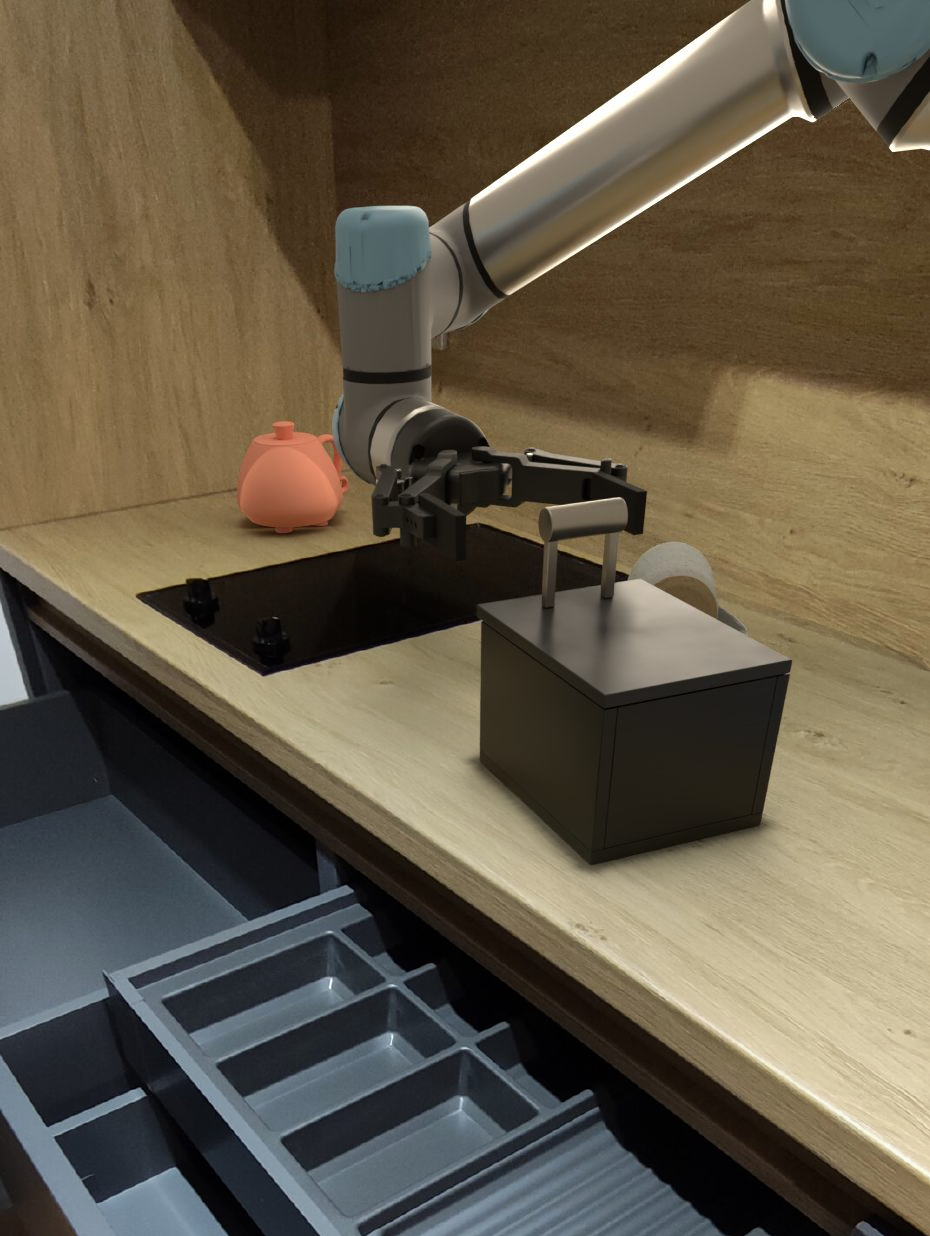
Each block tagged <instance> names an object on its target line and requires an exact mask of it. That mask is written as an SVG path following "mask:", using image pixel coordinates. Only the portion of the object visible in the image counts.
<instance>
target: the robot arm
mask: <svg viewBox="0 0 930 1236" xmlns="http://www.w3.org/2000/svg"><path fill="white" fill-rule="evenodd" d="M791 50H792V52H791ZM793 59H794V60H793ZM794 61H795V64H794ZM801 85H802V86H801ZM802 88H803V90H802ZM803 91H804V94H803ZM849 98H850V99H851V100H850V101H851V102H852V103H853V104H854V106H855V107H856V108H857V109H858V110H859V112H860V113H861V114H862V116H863V117H864V118H865V119H866V121H867V122H868V123H869V124H870V126H871V127H872V128H873V129H874V130H875V132H876V133H877V134H878V135H879V137H880V138H881V139H882V141H884V143H885V144H886V145H887V147H888V148H889V149H890V151H891V152H892V153H893V152H902V151H911V150H920V149H923V150H927V151H930V0H749V1H748V2H746V3H745V4H743V5H741V7H739V8H737V9H736V10H735V11H733V12H732V13H731V14H729V15H728V16H726V17H725V18H724V19H722V20H721V21H719V22H718V23H716V24H715V25H713V26H712V27H711V28H710V29H708V30H707V31H705V32H704V33H703V34H701V35H700V36H698V37H697V38H695V39H694V40H693V41H691V42H690V43H689V44H687V45H686V46H684V47H682V48H681V49H680V50H679V51H677V52H676V53H674V54H673V55H671V56H670V57H669V58H667V59H666V60H664V61H663V62H662V63H660V64H659V65H657V66H656V67H654V68H653V69H651V71H648V73H647V74H645V75H643V76H642V77H641V78H639V79H638V80H636V81H635V82H633V83H632V84H630V85H629V86H628V87H626V88H625V89H624V90H622V91H620V92H619V93H618V94H616V95H615V96H613V97H612V98H611V99H609V100H608V101H606V102H605V103H604V104H603V105H601V106H599V107H598V108H596V109H595V110H594V111H593V112H591V113H590V114H588V115H587V116H586V117H584V118H583V119H582V120H580V121H578V122H577V123H575V124H574V125H573V126H571V127H570V128H569V129H567V130H565V132H563V133H561V134H560V135H559V136H557V137H556V138H555V139H553V140H552V141H550V142H549V143H548V144H546V145H544V146H543V147H542V148H540V149H539V150H538V151H536V152H534V153H533V154H531V156H529V157H528V158H526V159H525V160H524V161H522V162H520V163H519V164H518V165H516V166H515V167H514V168H512V169H511V170H509V171H508V172H507V173H505V174H504V175H502V176H501V177H500V178H498V179H497V180H495V181H493V182H492V183H491V184H490V185H488V186H487V187H485V188H484V189H482V190H481V191H479V193H477V194H475V195H474V196H473V197H471V198H470V200H469V201H466V202H465V203H463V204H461V205H460V206H458V207H457V208H456V209H454V210H453V211H451V212H450V213H449V214H447V215H446V216H445V217H443V218H441V219H440V220H438V221H437V222H436V223H435V224H433V225H431V226H429V225H430V224H429V219H428V216H427V213H426V212H425V211H424V210H423V209H422V208H421V207H419V206H415V205H414V206H413V205H370V206H361V207H357V206H356V207H350V208H346V209H344V210H342V211H341V212H340V213H339V215H338V216H337V218H336V221H335V226H334V227H335V228H334V230H335V262H334V269H333V272H334V277H335V282H336V295H337V307H338V321H339V335H340V349H341V350H340V351H341V364H342V365H341V366H342V394H341V396H340V397H339V399H338V401H337V402H336V403H337V404H336V406H335V408H334V410H333V411H334V412H333V415H332V420H331V435H332V436H333V441H334V444H335V447H336V450H337V452H338V454H339V455H340V457H341V459H342V460H343V463H344V464H345V465H346V466H347V467H348V468H349V469H350V470H351V471H352V473H354V475H355V476H356V477H358V478H359V479H360V480H362V481H364V482H365V483H367V484H368V485H373V486H374V488H373V491H372V494H371V499H370V500H371V518H372V534H373V536H374V537H378V538H384V537H386V536H390V534H391V533H392V529H399V542H400V543H399V544H400V546H401V547H404V548H413V547H416V546H417V545H418V542H417V541H418V540H417V539H420V540H423V541H425V542H426V543H428V544H429V545H431V546H432V547H434V548H435V549H437V550H438V551H440V552H441V553H442V554H444V555H445V556H446V557H448V558H450V559H452V560H453V561H455V562H459V561H461V562H462V561H466V560H467V516H469V515H470V514H472V513H473V512H474V511H475V510H476V509H477V508H482V509H486V508H488V507H490V506H496V507H497V506H498V507H505V508H518V507H519V506H521V505H523V504H524V503H527V502H528V503H538V504H545V505H553V506H559V505H567V504H574V503H581V502H589V501H596V500H604V499H611V498H619V497H620V498H622V499H623V500H624V501H625V503H626V506H627V511H628V520H627V524H626V527H625V529H624V530H623V531H624V532H625V533H628V534H630V535H632V536H639V535H643V534H644V529H645V528H644V527H645V518H646V507H647V499H648V490H646V489H644V488H641V487H639V486H636V485H635V484H632V483H630V482H627V480H628V469H629V466H628V465H627V464H624V463H621V462H620V463H614V462H613V459H612V458H611V457H605V458H603V459H601V460H596V459H589V458H583V457H577V456H570V455H564V454H558V453H551V452H548V451H545V450H542V449H539V448H536V447H527V448H525V449H523V453H517V452H506V451H498V450H497V449H496V448H494V447H492V446H491V445H490V443H489V441H488V439H487V437H486V436H485V434H484V431H482V429H481V428H480V427H479V425H477V424H476V423H475V422H474V421H472V420H471V419H469V418H467V417H466V416H463V415H460V414H458V413H456V412H453V411H451V410H449V409H448V408H446V407H444V406H441V405H438V404H436V403H434V402H433V401H432V395H433V394H432V372H433V371H432V365H433V364H432V339H434V338H437V337H439V336H441V335H444V334H446V333H450V332H458V331H460V330H464V329H466V328H467V327H468V326H469V327H470V325H473V324H474V323H476V322H478V321H479V320H480V319H481V318H483V316H484V315H485V314H486V313H488V311H489V310H490V309H491V308H493V307H494V306H496V305H497V304H499V303H501V302H502V301H504V300H506V298H508V297H509V296H511V295H512V294H513V293H516V292H517V291H519V290H520V289H522V288H523V287H525V286H527V285H528V284H530V283H531V282H533V281H534V280H536V279H537V278H539V277H541V276H543V275H544V274H545V273H547V272H549V271H550V270H552V269H554V268H555V267H557V266H558V265H560V264H561V263H563V262H565V261H566V260H568V259H569V258H570V257H572V256H574V255H575V254H577V253H579V252H580V251H582V250H584V249H585V248H587V247H589V246H590V245H591V244H593V243H595V242H596V241H598V240H599V239H601V238H602V237H604V236H605V235H607V234H609V233H610V232H612V231H613V230H615V229H617V228H618V227H620V226H622V225H623V224H625V223H626V222H628V221H629V220H631V219H633V218H634V217H636V216H637V215H639V214H640V213H642V212H643V211H646V210H647V209H648V208H650V207H651V206H653V205H655V204H656V203H658V202H660V201H661V200H663V199H665V197H668V196H669V195H671V194H672V193H674V192H675V191H677V190H679V189H680V188H682V187H683V186H685V185H686V184H688V183H689V182H691V181H693V180H695V179H696V178H697V177H699V176H701V175H702V174H704V173H706V172H707V171H708V170H711V169H712V168H714V167H715V166H716V165H718V164H720V163H721V162H723V161H724V160H726V159H728V158H729V157H731V156H732V155H734V154H735V153H737V152H738V151H740V150H742V149H744V148H746V146H748V145H750V144H752V143H753V142H755V141H756V140H757V139H760V138H761V137H762V136H764V135H766V134H767V133H769V132H770V131H772V130H773V129H775V128H777V127H778V126H780V125H782V124H783V123H785V122H786V121H788V120H790V119H791V118H793V117H794V118H795V117H799V118H802V119H803V120H805V121H808V122H810V123H814V122H816V121H817V120H819V119H821V118H823V117H824V116H826V115H827V114H829V113H830V112H832V111H833V110H835V109H836V108H838V107H840V106H841V105H840V104H841V103H842V102H844V101H845V100H847V99H849ZM839 105H840V106H839ZM808 106H809V107H808ZM837 106H838V107H837ZM835 107H836V108H835ZM834 108H835V109H834ZM831 110H832V111H831ZM811 112H812V114H811ZM828 112H829V113H828ZM814 117H815V118H814ZM510 486H511V495H509V494H505V493H506V492H507V490H508V489H509V488H510Z"/></svg>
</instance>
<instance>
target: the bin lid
mask: <svg viewBox="0 0 930 1236" xmlns="http://www.w3.org/2000/svg"><path fill="white" fill-rule="evenodd" d="M627 520H628V511H627V506H626V503H625V501H624V500H623V499H622V498H620V497H619V498H611V499H604V500H596V501H589V502H581V503H574V504H567V505H552V506H544V507H543V508H541V509H540V511H539V514H538V521H537V523H538V524H537V525H538V526H537V527H538V534H539V536H540V538H541V540H542V542H543V561H542V584H541V594H536V595H535V594H534V595H530V596H523V597H517V598H511V599H504V600H499V601H498V600H497V601H492V602H485V603H478V604H476V617H477V618H478V619H480V620H481V621H484V622H485V623H486V624H488V625H489V626H491V627H492V628H493V629H495V630H496V631H498V632H499V633H500V634H502V635H503V636H504V637H506V638H507V639H509V640H510V641H511V642H513V643H514V644H516V645H517V646H518V647H520V648H521V649H522V650H524V651H525V652H527V653H528V654H529V655H531V656H532V657H533V658H535V659H536V660H538V661H539V662H540V663H542V664H543V665H545V666H546V667H547V668H549V669H550V670H551V671H553V672H554V673H556V674H557V675H558V676H560V677H561V678H563V679H564V680H565V681H567V682H568V683H569V684H571V685H572V686H574V687H575V688H576V689H578V690H579V691H581V692H582V693H583V694H585V695H586V696H587V697H589V698H590V699H592V700H593V701H594V702H596V703H597V704H599V705H600V706H601V707H603V708H611V707H616V706H621V705H626V704H631V703H636V702H642V701H647V700H652V699H657V698H662V697H667V696H672V695H678V694H683V693H688V692H693V691H698V690H703V689H708V688H714V687H719V686H724V685H729V684H734V683H739V682H744V681H750V680H755V679H760V678H765V677H770V676H775V675H781V674H786V673H789V674H790V673H791V672H792V671H791V670H792V665H793V659H791V658H790V657H788V656H786V655H784V654H782V653H780V652H778V651H776V650H775V649H773V648H771V647H769V646H767V645H765V644H763V643H762V642H760V641H757V640H756V639H754V638H752V637H750V636H749V637H748V636H747V635H745V634H743V633H741V632H739V631H737V630H735V629H733V628H732V627H730V626H728V625H726V624H724V623H722V622H720V621H719V620H717V619H715V618H713V617H711V616H709V615H707V614H705V613H704V612H702V611H700V610H698V609H696V608H694V607H692V606H690V605H689V604H687V603H685V602H683V601H681V600H679V599H677V598H675V597H674V596H672V595H670V594H668V593H666V592H664V591H662V590H661V589H659V588H657V587H655V586H653V585H651V584H649V583H647V582H646V581H644V580H642V579H636V580H629V581H627V580H624V581H623V580H622V581H617V582H616V572H617V562H618V549H619V539H620V533H621V532H623V531H624V529H625V527H626V524H627ZM603 535H604V541H603V542H604V543H603V554H602V555H603V556H602V567H601V579H600V580H601V581H600V584H599V585H592V586H586V587H579V588H573V589H567V590H561V591H556V587H557V586H556V585H557V566H558V546H559V542H561V541H568V540H575V539H580V538H581V539H582V538H589V537H595V536H603Z"/></svg>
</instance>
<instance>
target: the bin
mask: <svg viewBox="0 0 930 1236" xmlns="http://www.w3.org/2000/svg"><path fill="white" fill-rule="evenodd" d="M480 624H481V625H480V687H479V689H480V690H479V691H480V692H479V693H480V694H479V695H480V696H479V704H480V705H479V709H480V710H479V762H480V763H481V764H482V765H483V766H484V767H485V768H486V769H487V770H488V771H490V772H491V773H492V774H493V775H494V776H495V777H496V778H497V779H498V780H499V781H500V782H501V783H503V784H504V786H505V787H507V788H508V790H510V791H511V792H512V793H513V794H514V796H516V797H517V798H518V799H520V800H521V801H522V803H524V804H525V805H526V806H527V807H528V808H529V809H530V810H531V811H532V812H533V813H535V814H536V815H537V816H538V817H539V818H540V819H541V820H542V821H543V822H544V823H545V824H546V825H547V826H548V827H550V828H551V829H552V830H553V831H554V832H555V833H556V835H558V836H559V837H560V838H561V839H562V840H563V841H564V842H566V843H567V844H568V845H569V847H571V848H572V850H574V851H575V852H576V853H577V854H578V855H579V856H581V858H582V859H583V860H584V861H585V862H586V863H588V864H589V865H590V866H592V865H595V864H600V863H604V862H609V861H612V860H617V859H622V858H626V857H630V856H634V855H639V854H642V853H646V852H650V851H651V852H652V851H655V850H659V849H663V848H668V847H671V846H676V845H680V844H684V843H688V842H693V841H697V840H702V839H706V838H709V837H714V836H718V835H722V834H726V833H731V832H734V831H739V830H743V829H747V828H752V827H756V826H760V825H761V824H762V819H763V815H764V814H763V813H764V809H765V804H766V798H767V793H768V789H769V783H770V779H771V773H772V768H773V763H774V758H775V753H776V748H777V744H778V738H779V734H780V733H779V732H780V728H781V722H782V717H783V713H784V707H785V703H786V699H787V692H788V687H789V682H790V677H791V674H790V673H786V674H781V675H775V676H770V677H765V678H760V679H755V680H750V681H744V682H739V683H734V684H729V685H724V686H719V687H714V688H708V689H703V690H698V691H693V692H688V693H683V694H678V695H672V696H667V697H662V698H657V699H652V700H647V701H642V702H636V703H631V704H626V705H621V706H616V707H611V708H603V707H601V706H600V705H599V704H597V703H596V702H594V701H593V700H592V699H590V698H589V697H587V696H586V695H585V694H583V693H582V692H581V691H579V690H578V689H576V688H575V687H574V686H572V685H571V684H569V683H568V682H567V681H565V680H564V679H563V678H561V677H560V676H558V675H557V674H556V673H554V672H553V671H551V670H550V669H549V668H547V667H546V666H545V665H543V664H542V663H540V662H539V661H538V660H536V659H535V658H533V657H532V656H531V655H529V654H528V653H527V652H525V651H524V650H522V649H521V648H520V647H518V646H517V645H516V644H514V643H513V642H511V641H510V640H509V639H507V638H506V637H504V636H503V635H502V634H500V633H499V632H498V631H496V630H495V629H493V628H492V627H491V626H489V625H488V624H486V623H485V622H484V621H482V620H481V622H480Z"/></svg>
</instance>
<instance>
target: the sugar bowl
mask: <svg viewBox="0 0 930 1236" xmlns="http://www.w3.org/2000/svg"><path fill="white" fill-rule="evenodd" d="M272 429H273V431H274V432H271V433H270V432H269V433H264V434H260V435H257V436H255V437H254V438H253V439H252V441H251V442H250V444H249V446H248V448H247V451H246V454H245V456H244V458H243V461H242V463H241V466H240V468H239V473H238V478H237V485H236V500H237V506H238V508H239V510H240V511H241V512H242V513H243V514H244V516H246V517H247V519H248V520H249V521H250V522H252V523H254V524H256V525H259V526H264V527H270V528H275V533H278V534H286V533H292V532H293V528H300V527H307V526H314V527H324V526H328V525H329V522H328V521H329V520H332V519H333V518H334V516H335V515H336V514H337V513H338V510H339V509H340V507H341V505H342V503H343V500H344V495H345V494H346V493H347V492H348V491H349V488H350V483H349V480H348V477H346V476H345V475H344V474H343V475H342V469H343V463H344V461H343V460H342V459H341V457H340V455H339V454H338V452H337V450H336V447H335V444H334V441H333V435H332V434H328V433H327V434H326V433H324V434H321V435H319V436H316V435H314V434H312V433H308V432H301V431H294V430H295V422H293V421H289V420H282V421H276V422H273V423H272ZM326 443H331V444H332V448H333V460H332V458H331V457H330V455H329V454H328V452H327V450H326V448H325V447H324V446H323V444H326Z"/></svg>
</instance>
